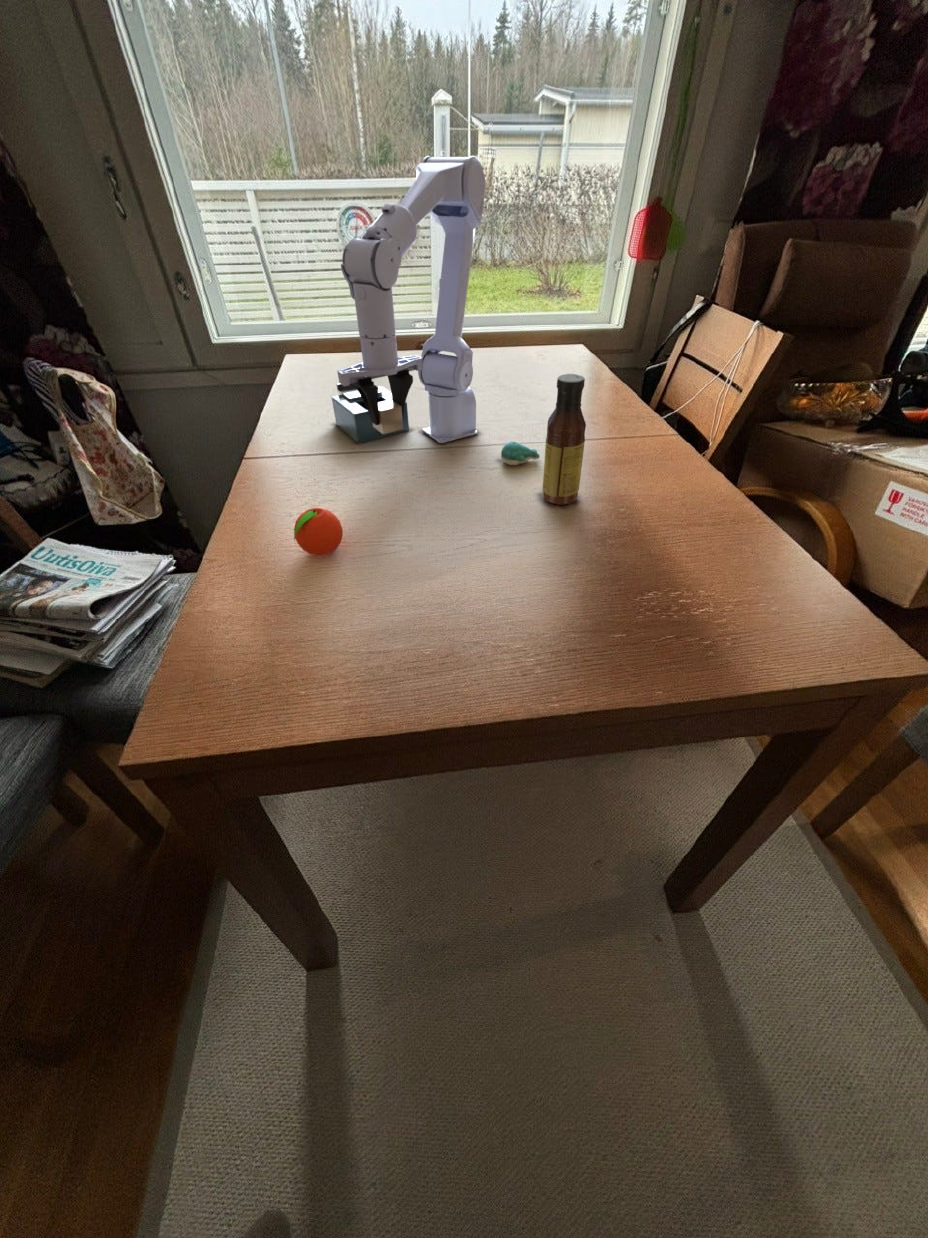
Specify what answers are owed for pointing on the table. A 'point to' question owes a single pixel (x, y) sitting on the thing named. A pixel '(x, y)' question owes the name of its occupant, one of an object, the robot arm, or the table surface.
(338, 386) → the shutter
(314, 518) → the clementine
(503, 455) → the whale figurine
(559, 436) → the sauce bottle
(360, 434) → the sliding lid box
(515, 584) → the table surface
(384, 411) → the block
